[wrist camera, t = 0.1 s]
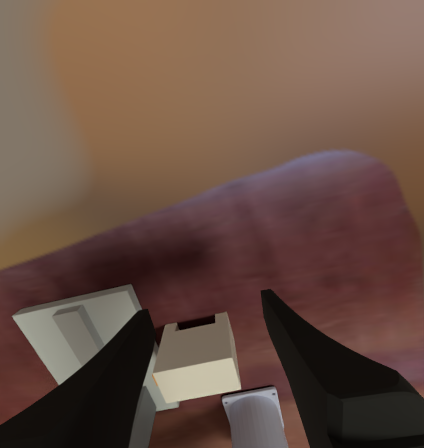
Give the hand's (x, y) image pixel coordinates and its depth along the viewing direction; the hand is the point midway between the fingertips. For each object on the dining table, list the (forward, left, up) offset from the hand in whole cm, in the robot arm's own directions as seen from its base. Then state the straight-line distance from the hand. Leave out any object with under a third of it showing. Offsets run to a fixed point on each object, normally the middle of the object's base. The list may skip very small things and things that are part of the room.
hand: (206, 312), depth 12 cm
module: (-11, +4, -10) cm, 16 cm away
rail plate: (-12, +17, -10) cm, 23 cm away
